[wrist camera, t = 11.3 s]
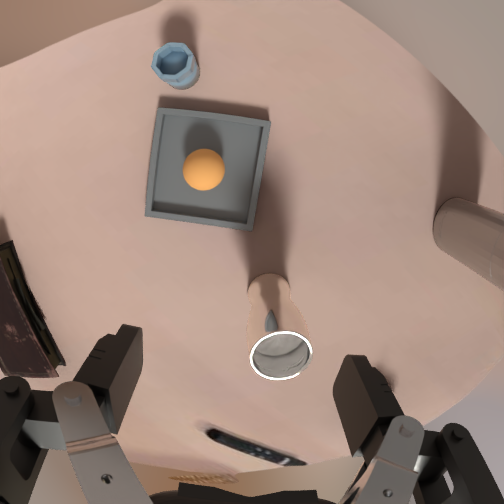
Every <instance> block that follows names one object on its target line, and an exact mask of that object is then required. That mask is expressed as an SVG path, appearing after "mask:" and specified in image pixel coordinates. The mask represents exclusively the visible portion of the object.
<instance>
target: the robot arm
mask: <svg viewBox="0 0 504 504" xmlns="http://www.w3.org/2000/svg"><path fill="white" fill-rule="evenodd" d="M433 234H434V239H435V242H436V244H437V246H438V247H439V248H440V249H441V250H442V251H444V252H445V253H447V254H448V255H450V256H452V257H453V258H455V259H456V260H458V261H459V262H461V263H462V264H464V265H465V266H467V267H468V268H470V269H471V270H473V271H474V272H476V273H477V274H479V275H480V276H482V277H483V278H485V279H486V280H488V281H489V282H491V283H492V284H494V285H495V286H496V287H498V288H499V289H501V290H502V291H504V214H503V213H500V212H498V211H495V210H492V209H490V208H487V207H484V206H482V205H479V204H476V203H473V202H470V201H467V200H464V199H461V198H452V199H450V200H448V201H446V202H445V203H444V204H443V205H442V206H441V208H440V209H439V211H438V213H437V215H436V218H435V220H434V226H433ZM142 365H143V333H142V328H140V327H135V326H130V325H126V324H122V326H121V327H120V329H119V330H118V332H117V334H116V335H112V334H107V335H106V336H104V337H102V338H101V339H99V340H98V342H97V343H96V345H95V346H94V348H93V350H92V351H91V352H90V354H89V357H87V359H86V360H85V362H84V363H83V365H82V366H81V368H80V370H79V371H78V373H77V374H76V376H75V378H74V379H73V381H69V382H64V383H62V384H60V385H58V386H57V387H56V388H55V390H54V391H40V390H31V388H30V385H29V383H28V382H27V381H26V380H25V379H24V378H22V377H19V376H8V377H5V378H3V379H1V380H0V504H28V502H29V500H30V497H31V494H32V491H33V488H34V486H35V483H36V480H37V478H38V475H39V472H40V470H41V467H42V465H43V462H44V459H45V457H46V455H47V452H48V450H49V449H55V450H67V452H68V455H69V458H70V461H71V463H72V466H73V469H74V471H75V473H76V476H77V479H78V481H79V483H80V486H81V488H82V491H83V493H84V495H85V497H86V500H87V502H88V504H336V503H333V502H330V501H327V500H323V499H319V498H318V496H317V491H316V490H303V491H281V492H276V493H271V494H267V495H261V496H255V497H247V496H243V495H239V494H235V493H232V492H229V491H225V490H222V489H219V488H215V487H210V486H201V485H194V484H188V483H181V482H180V483H179V488H178V490H173V491H164V492H160V493H156V494H153V495H150V496H148V494H147V493H146V491H145V489H144V488H143V486H142V485H141V483H140V481H139V480H138V478H137V476H136V475H135V473H134V471H133V469H132V467H131V466H130V464H129V462H128V460H127V458H126V456H125V455H124V453H123V451H122V449H121V447H120V445H119V443H118V441H117V439H116V438H115V437H114V436H113V437H112V435H111V433H113V434H118V431H119V429H120V426H121V423H122V420H123V418H124V415H125V412H126V410H127V407H128V405H129V402H130V399H131V397H132V394H133V392H134V389H135V387H136V384H137V382H138V379H139V377H140V374H141V371H142ZM333 397H334V401H335V404H336V407H337V410H338V413H339V416H340V419H341V422H342V426H343V429H344V432H345V435H346V438H347V442H348V445H349V448H350V451H351V455H352V457H361V456H363V457H364V462H363V463H362V465H361V466H360V468H359V470H358V472H357V474H356V475H355V477H354V479H353V481H352V483H351V484H350V486H349V488H348V490H347V491H346V493H345V495H344V496H343V497H342V499H341V500H340V502H339V503H338V504H409V501H410V498H411V495H412V493H413V495H414V498H415V501H416V504H504V499H503V497H502V494H501V492H500V490H499V488H498V486H497V484H496V482H495V480H494V478H493V476H492V474H491V472H490V470H489V468H488V466H487V464H486V462H485V460H484V458H483V456H482V455H481V453H480V451H479V449H478V447H477V446H476V444H475V442H474V440H473V438H472V436H471V435H470V433H469V431H468V430H467V429H466V428H464V427H463V426H462V425H460V424H457V423H449V424H447V425H445V427H444V428H443V429H442V430H441V432H435V431H428V430H424V428H423V426H422V425H421V423H420V422H419V421H417V420H416V419H414V418H412V417H410V416H405V415H404V413H403V411H402V409H401V407H400V405H399V404H398V402H397V400H396V398H395V396H394V394H393V393H392V390H391V388H390V387H389V386H388V383H387V381H386V379H385V377H384V375H383V374H382V373H380V372H379V371H378V370H377V369H376V368H375V367H371V365H370V363H369V361H368V359H367V357H366V356H365V355H346V356H345V358H344V360H343V363H342V365H341V368H340V370H339V373H338V375H337V377H336V380H335V382H334V386H333ZM447 470H448V472H449V475H450V477H451V480H452V482H453V485H454V490H453V493H452V495H451V493H450V490H449V488H448V486H447V483H446V481H445V478H444V476H443V474H444V473H445V472H446V471H447Z"/></svg>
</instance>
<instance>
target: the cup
mask: <svg viewBox="0 0 504 504" xmlns="http://www.w3.org/2000/svg"><path fill="white" fill-rule="evenodd" d="M151 67H152V69H153V70H154V72H155V73H156V74H157V75H158V77H159V78H160V79H161V80H163V81H164V82H167V83H168V84H169V85H170V86H172V87H173V88H175V89H179V90H184V89H188V88H190V87H192V86H193V85H194V84H195V83H196V82H197V81H198V79H199V76H200V69H199V66H198V64H197V63H196V58H195V56H194V55H193V53H192V52H191V51H190V50H189V48H188V47H187V46H186V45H185V44H184V43H170V42H168V43H166V44H165V45H164V46H162V47H161V48H160V49H158V50H157V51H156V52H155V53H154V56H153V61H152V65H151Z"/></svg>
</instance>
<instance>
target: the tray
mask: <svg viewBox="0 0 504 504" xmlns="http://www.w3.org/2000/svg"><path fill="white" fill-rule="evenodd" d="M270 126H271V121H265V120H260V119H254V118H247V117H241V116H234V115H227V114H219V113H211V112H203V111H193V110H183V109H171V108H158V110H157V116H156V123H155V129H154V136H153V143H152V151H151V159H150V167H149V176H148V185H147V196H146V207H145V216H146V217H154V218H161V219H169V220H176V221H183V222H190V223H197V224H205V225H212V226H219V227H225V228H232V229H239V230H246V231H252V230H253V224H254V218H255V212H256V206H257V201H258V195H259V189H260V183H261V177H262V172H263V166H264V160H265V154H266V149H267V143H268V137H269V131H270ZM198 149H210V150H213V151H215V152H216V153H218V154H219V155H220V157H221V158H222V160H223V162H224V165H225V173H224V177H223V179H222V181H221V182H220V183H219V184H218V185H217V186H216V187H214V188H212V189H210V190H204V191H203V190H197V189H194V188H193V187H191V186H190V185H189V184H188V183H187V182H186V180H185V178H184V176H183V164H184V161H185V159H186V158H187V157H188V155H189V154H191V153H192V152H194V151H196V150H198Z"/></svg>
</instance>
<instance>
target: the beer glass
mask: <svg viewBox="0 0 504 504" xmlns="http://www.w3.org/2000/svg"><path fill="white" fill-rule="evenodd" d="M248 299H249V302H250V304H251V310H250V313H249V317H248V322H247V329H246V337H247V346H248V352H249V357H250V363H251V366H252V368H253V369H254V370H255V371H256V372H257V373H258V374H259V375H261V376H263V377H265V378H268V379H273V380H283V379H288V378H291V377H294V376H296V375H298V374H300V373H301V372H302V371H304V370H305V369H306V368H307V366H308V365H309V364H310V362H311V360H312V356H313V348H312V345H311V340H310V336H309V331H308V328H307V325H306V322H305V320H304V317H303V315H302V314H301V312H300V311H299V309H298V308H297V306H296V305H295V304H294V302H293V301H292V300H291V299H290V287H289V284H288V282H287V281H286V280H285V279H284V278H283V277H281V276H280V275H277V274H273V273H267V274H263V275H260V276H258V277H257V278H255V279H254V280H253V281H252V282H251V284H250V286H249V288H248Z"/></svg>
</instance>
